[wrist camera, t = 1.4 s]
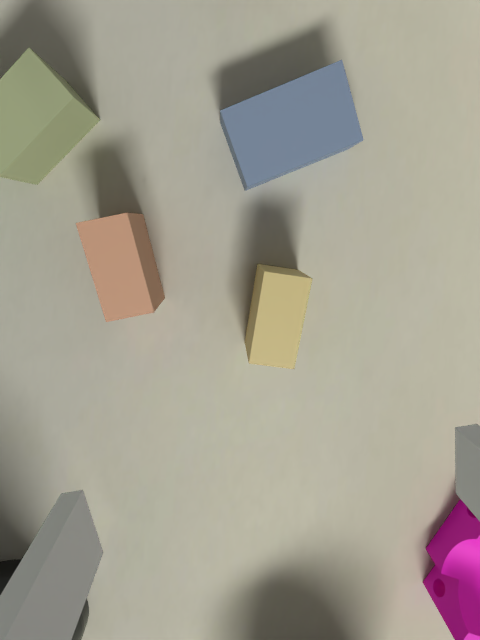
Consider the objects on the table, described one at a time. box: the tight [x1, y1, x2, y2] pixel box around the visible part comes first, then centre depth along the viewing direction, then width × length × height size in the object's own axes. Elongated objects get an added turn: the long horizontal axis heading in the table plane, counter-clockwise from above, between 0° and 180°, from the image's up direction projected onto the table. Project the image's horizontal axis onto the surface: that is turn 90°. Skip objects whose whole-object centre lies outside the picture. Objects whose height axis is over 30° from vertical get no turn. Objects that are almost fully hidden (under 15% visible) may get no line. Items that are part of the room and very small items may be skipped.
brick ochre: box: [245, 264, 312, 369], centre depth 34 cm, size 8×4×6 cm, turn 171°
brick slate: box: [220, 60, 363, 191], centre depth 31 cm, size 10×6×4 cm, turn 111°
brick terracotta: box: [76, 213, 165, 322], centre depth 32 cm, size 8×4×6 cm, turn 11°
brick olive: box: [0, 48, 100, 185], centre depth 29 cm, size 8×4×6 cm, turn 131°
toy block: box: [423, 499, 480, 640], centre depth 42 cm, size 15×6×8 cm, turn 155°
